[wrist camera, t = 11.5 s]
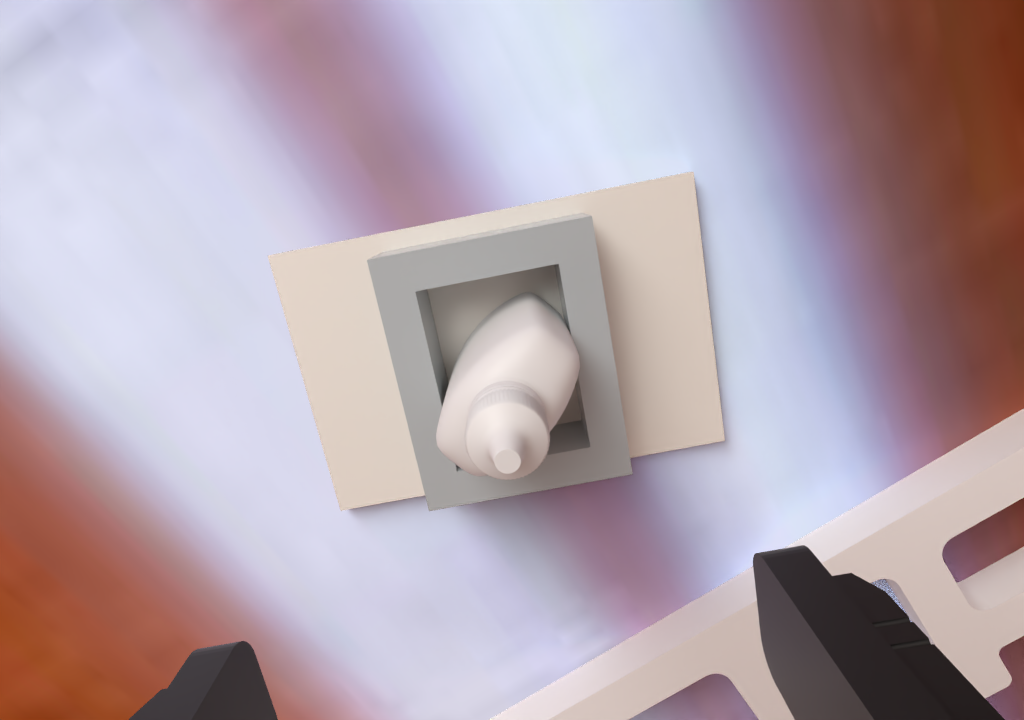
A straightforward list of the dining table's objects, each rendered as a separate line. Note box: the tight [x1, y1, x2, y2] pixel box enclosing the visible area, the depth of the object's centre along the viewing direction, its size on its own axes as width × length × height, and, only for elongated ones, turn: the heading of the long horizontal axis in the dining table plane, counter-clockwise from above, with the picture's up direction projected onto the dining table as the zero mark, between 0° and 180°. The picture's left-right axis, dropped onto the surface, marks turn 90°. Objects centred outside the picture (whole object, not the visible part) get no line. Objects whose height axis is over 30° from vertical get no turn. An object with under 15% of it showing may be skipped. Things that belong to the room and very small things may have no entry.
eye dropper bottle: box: [436, 292, 580, 480], centre depth 23 cm, size 4×6×12 cm
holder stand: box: [268, 172, 725, 511], centre depth 27 cm, size 12×18×4 cm, turn 101°
